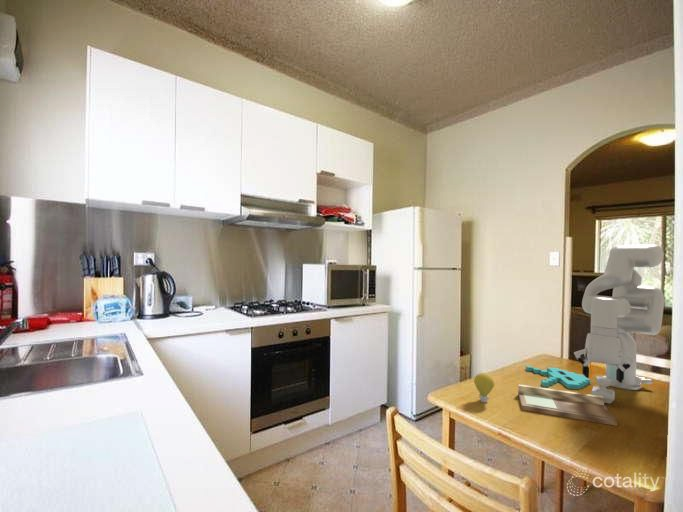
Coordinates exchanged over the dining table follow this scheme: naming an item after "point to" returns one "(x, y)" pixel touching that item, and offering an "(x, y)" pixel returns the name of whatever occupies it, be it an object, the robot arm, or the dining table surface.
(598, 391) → the stamp
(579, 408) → the brown piece
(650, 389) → the dining table surface
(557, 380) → the teal pixel sprite
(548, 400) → the end mark
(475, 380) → the light bulb
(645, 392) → the dining table surface
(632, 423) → the dining table surface
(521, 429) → the dining table surface
